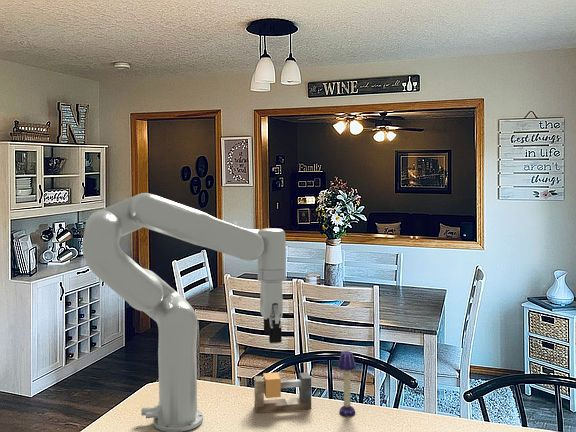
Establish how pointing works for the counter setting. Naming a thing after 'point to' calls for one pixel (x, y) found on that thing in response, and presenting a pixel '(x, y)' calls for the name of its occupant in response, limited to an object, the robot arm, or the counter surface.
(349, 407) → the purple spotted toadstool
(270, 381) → the sleeve
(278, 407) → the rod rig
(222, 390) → the counter surface
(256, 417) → the counter surface
